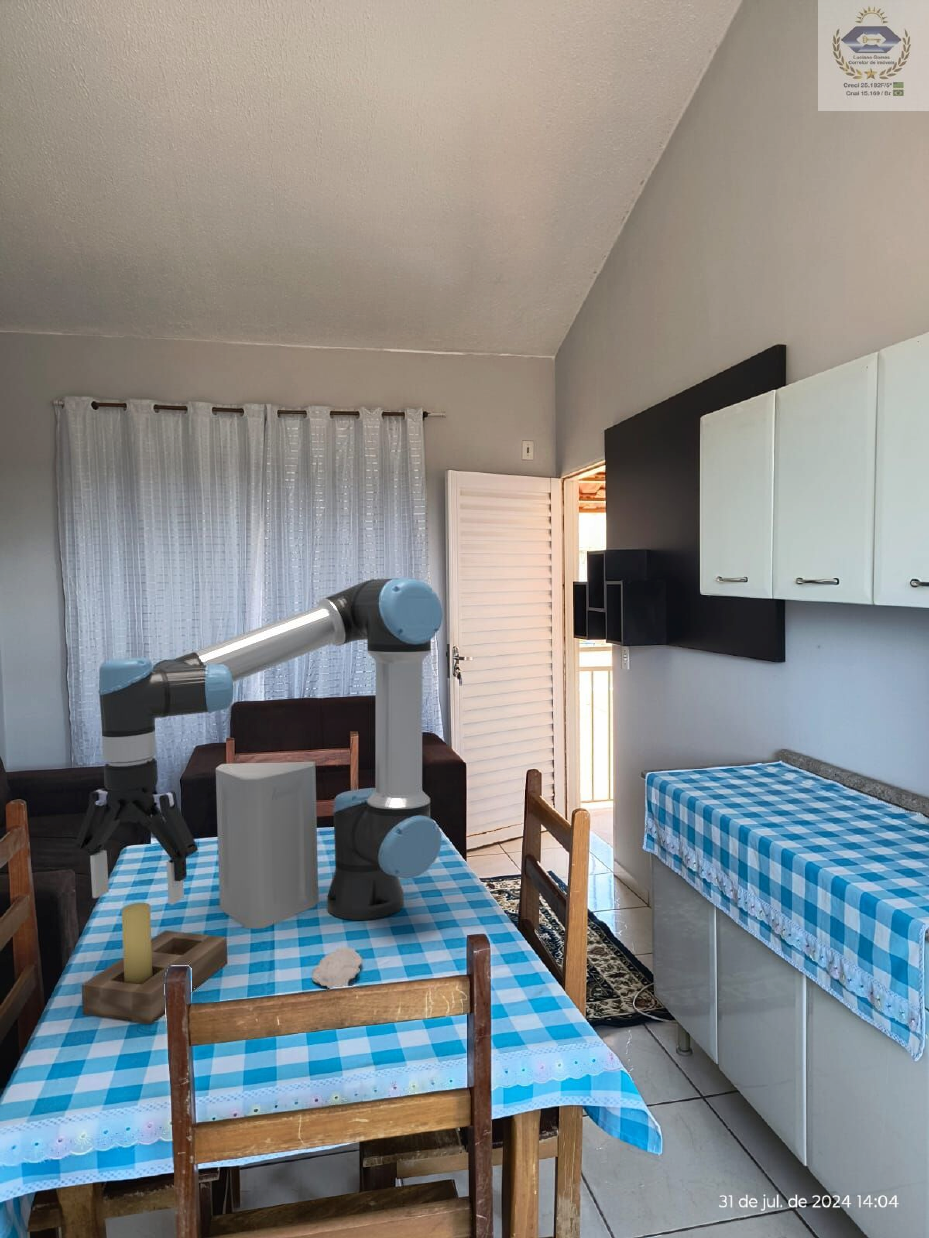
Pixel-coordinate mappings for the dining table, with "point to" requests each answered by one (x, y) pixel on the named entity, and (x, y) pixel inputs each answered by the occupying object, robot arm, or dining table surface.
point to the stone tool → (337, 968)
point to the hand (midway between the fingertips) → (138, 897)
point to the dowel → (137, 943)
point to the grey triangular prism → (266, 841)
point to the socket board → (153, 977)
